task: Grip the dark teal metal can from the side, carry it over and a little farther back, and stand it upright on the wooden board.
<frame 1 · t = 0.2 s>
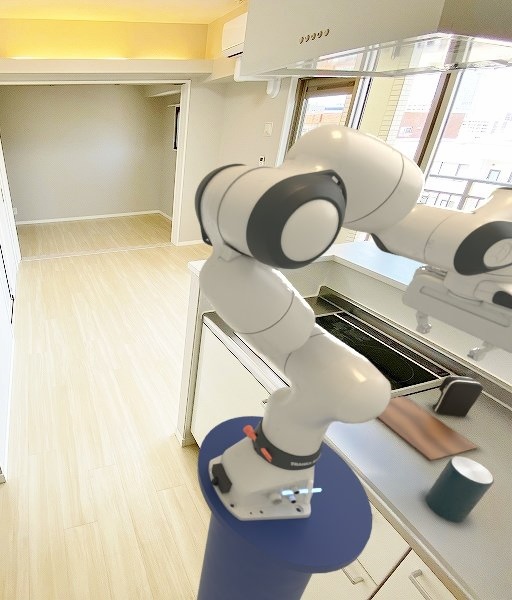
hand: (446, 344, 65), 32 cm above the counter, tool pointing down, fingers open, 8 cm apart
can: (444, 507, 68), on the counter
wooden board: (415, 425, 86), on the counter
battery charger: (446, 411, 90), on the counter
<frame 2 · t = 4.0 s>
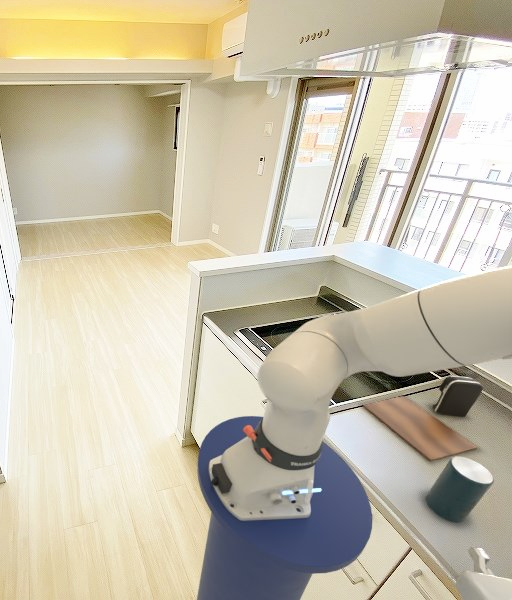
hand: (509, 555, 54), 7 cm above the counter, tool horizontal, fingers open, 8 cm apart
nothing on the counter moved.
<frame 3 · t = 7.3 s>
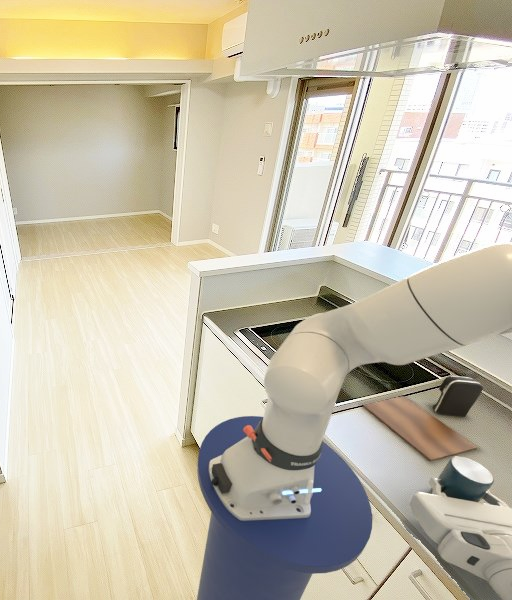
hand: (455, 483, 66), 7 cm above the counter, tool horizontal, fingers closed on can, 6 cm apart
can: (444, 507, 68), on the counter, touching gripper
everything else where it was.
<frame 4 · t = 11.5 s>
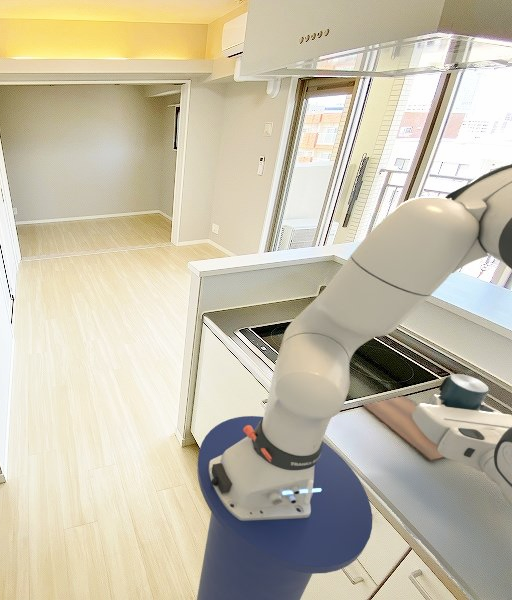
hand: (454, 399, 72), 17 cm above the counter, tool horizontal, fingers closed on can, 6 cm apart
can: (444, 424, 74), point 10 cm above the counter, touching gripper
everything else where it was.
when the fingers open (7 cm above the counter, at t = 16.0 s): can stays where it is, resting on wooden board.
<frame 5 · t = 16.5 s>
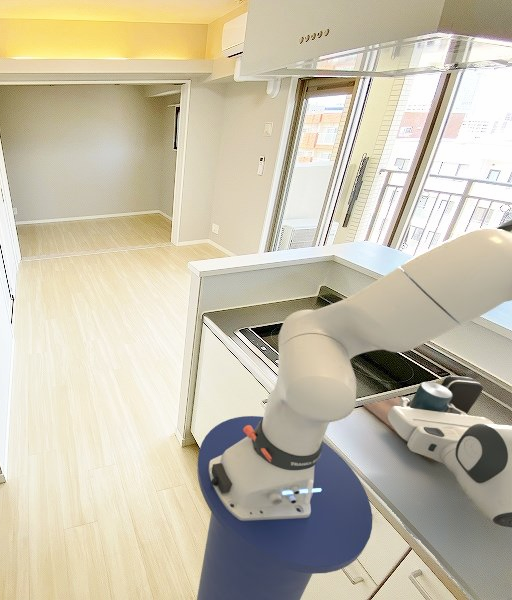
hand: (424, 402, 84), 8 cm above the counter, tool horizontal, fingers open, 8 cm apart
can: (417, 424, 86), point 1 cm above the counter, touching wooden board
everything else where it was.
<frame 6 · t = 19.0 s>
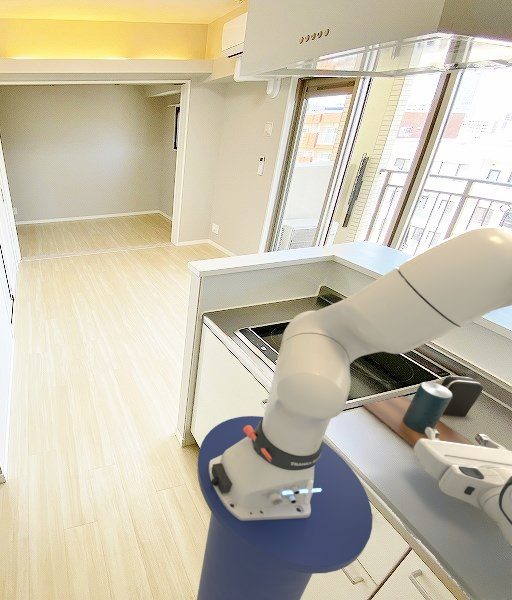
hand: (454, 432, 74), 9 cm above the counter, tool horizontal, fingers open, 8 cm apart
nothing on the counter moved.
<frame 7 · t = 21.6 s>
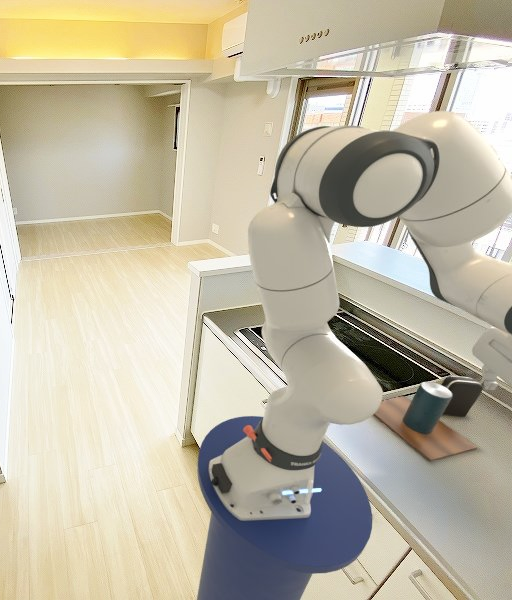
hand: (504, 404, 62), 24 cm above the counter, tool pointing down, fingers open, 8 cm apart
nothing on the counter moved.
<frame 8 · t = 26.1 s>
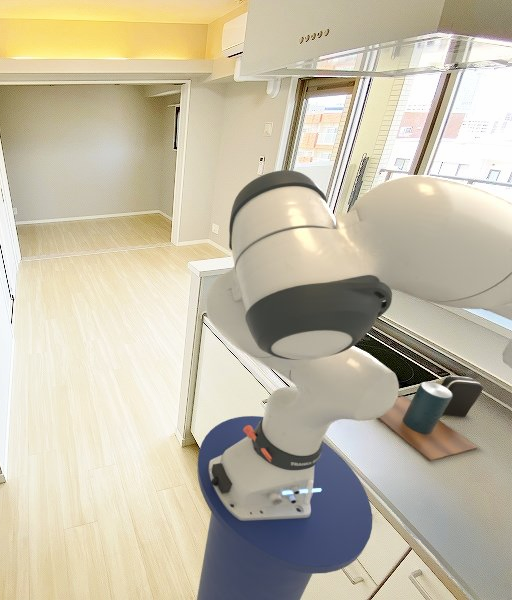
nothing on the counter moved.
at the end: can inside the target area on the wooden board (0.3 cm from its centre), point 0.6 cm above the wooden board's base; can tilted 0°; can moved 23.4 cm from its start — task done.
